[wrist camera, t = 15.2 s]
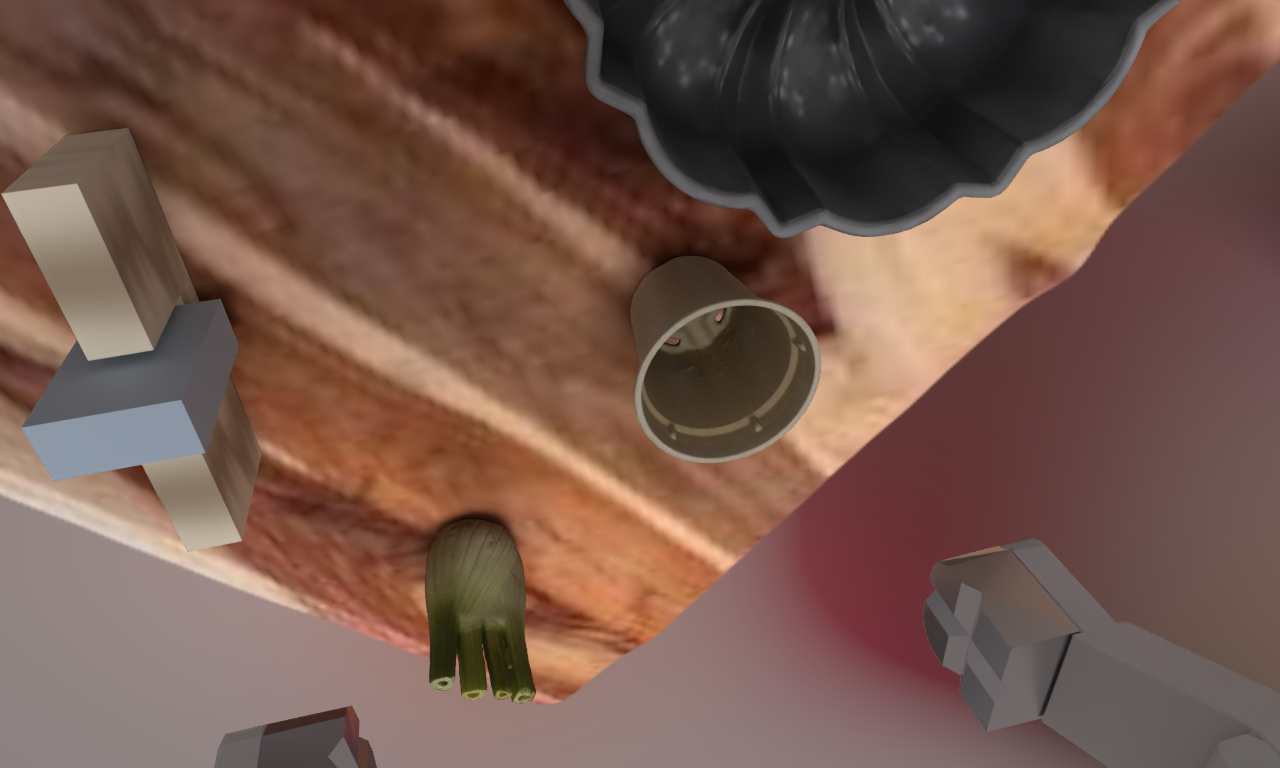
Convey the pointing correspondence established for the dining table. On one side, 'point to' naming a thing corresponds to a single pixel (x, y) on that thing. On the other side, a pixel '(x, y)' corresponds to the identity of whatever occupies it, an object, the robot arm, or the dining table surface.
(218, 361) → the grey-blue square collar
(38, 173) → the beech slot board
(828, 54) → the bundt pan
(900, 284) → the dining table surface
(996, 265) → the dining table surface
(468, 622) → the fennel bulb
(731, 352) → the flower pot
